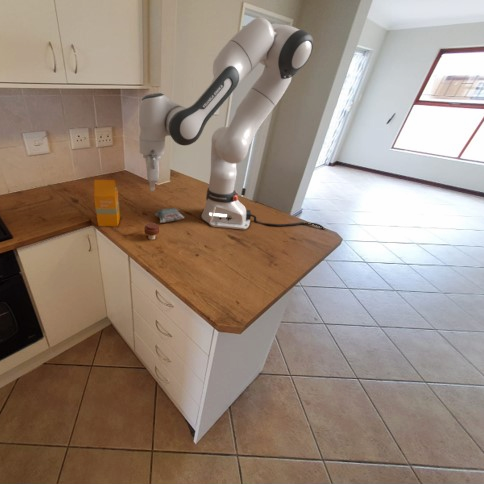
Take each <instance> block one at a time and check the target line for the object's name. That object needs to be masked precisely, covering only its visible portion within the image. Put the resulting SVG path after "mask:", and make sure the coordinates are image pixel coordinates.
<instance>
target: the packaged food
mask: <svg viewBox="0 0 484 484" xmlns="http://www.w3.org/2000/svg"><path fill="white" fill-rule="evenodd" d="M154 216H155V217H158V218H159V223H164V224H165V223H170V222H176V221H177V222H178V221H181V220H185V219H186V216H184V215H183V214H181V212H180V211H179V210H178V209H177V208H175V207H170V208H162V209H158V210H156V212H155V214H154Z"/></svg>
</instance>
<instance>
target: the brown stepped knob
mask: <svg viewBox="0 0 484 484" xmlns="http://www.w3.org/2000/svg"><path fill="white" fill-rule="evenodd" d="M143 230H144V234H146V235H147V239H148V240H151V241H152V240H153V241H154V240H155V239H156V235H159V233H160V226H159V225H158V224H157V223H156V222H148V223H147V224H146V225H144V229H143Z"/></svg>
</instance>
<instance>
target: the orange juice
mask: <svg viewBox="0 0 484 484" xmlns="http://www.w3.org/2000/svg"><path fill="white" fill-rule="evenodd" d="M118 190H119V189H118V185H117V182H116V179H100V178H99V179H97V178H95V179H93V200H94V206H95V207H94V208H95V214H96V221H97V226H98V227H118V226H119V223H120V221H121V213H120V201H119V191H118Z"/></svg>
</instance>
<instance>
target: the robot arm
mask: <svg viewBox="0 0 484 484" xmlns="http://www.w3.org/2000/svg"><path fill="white" fill-rule="evenodd" d="M313 49H314V38H313V36H312V35H311V34H310V33H309V32H307V31H306V30H304V29H299V28H297V27H295V26H292V25H290V24H281V23H274V22H270V21H269V20H268V19H267V18H264V17H256V18H254V19H252V20H251V21H250V22H248V23H247V24H246V25H244V26H243V27H242V28H241V29H240V30H238V32H237V33H235V35H233V37H232V38H231V39H230V40H229V41H227V43H226V44H225V45H224V46H223V47H222V48H221V50H220V51H219V52H218V54H217V56H215V58H214V60H213V64H212V76H213V79H212V80H211V83H210V84H209V86H208V87H206V89H205V90H204V91H203V92H202V94H201V95H200V96H199V97H197V99H196V100H195V102H194V103H193V104H192V105H190V106H188V107H184V106H182V105H180V104H178V103H176V102H174V101H173V100H171V99H170V98H168V97H167V96H166V95H165V94H164V93H161V92H157V93H155V92H154V93H150V94H146V95H144V96H143V97H142V98H141V100H140V103H139V104H140V105H139V112H138V114H139V116H138V121H139V122H138V123H139V124H138V125H139V128H140V129H139V130H140V133H139V137H138V138H139V139H138V140H139V153H140V154H141V155H142V158H144V159H145V166H146V177H147V182H148V183H149V191H150V192H154V191H155V190H156V183H158V182H159V177H160V176H159V175H160V162H159V161H160V160H161V158H162V155H165V152H166V151H165V150H166V137H168V136H169V137H171V139H172V140H173V142H175V143H176V144H178V145H180V146H190V145H192V144H194V143H196V142H197V141H198V140H199V139H200V137H201V135H202V134H203V131H204V129H205V126H206V124H207V123H208V122H209V120H210V119H211V118H212V116H214V115H215V113H216V112H217V111H218V110H219V108H220V107H222V105H223V104H224V102H226V100H228V98H229V97H230V96H231V95H232V93H233V92H234V90H236V88H237V87H238V86H239V85H240V84H241V83H242V82H243V81H244V79H245V78H247V77H248V75H249V74H251V72H252V71H253V70H254V69H255V68H256V67H257V66H258V65H259V64H261V65H262V66H264V68H263V71H262V73H261V75H260V76H259V77H258V78H257V80H256V81H255V82H254V83H253V85H252V86H251V88H250V89H249V90H248V92H247V93H246V95H245V96H244V98H243V99H242V100H241V102H240V103H239V104H238V106H237V107H236V109H235V113H234V116H233V118H232V120H231V121H230V124H229V126H222V127H218V128H217V129H216V130H214V132H213V133H212V135H211V148H210V173H209V174H210V175H209V183H208V187H207V189H206V194H205V195H206V196H205V198H206V199H205V200H206V201H205V205H204V209H203V211H202V213H201V219H202V220H203V221H205V223H208V224H209V226H210V227H212V228H224V229H233V230H247V229H248V228H249V227H250V224H251V217H252V218H253V222H255V223H257V224H260V225H264V226H270V227H288V226H289V227H291V226H296V225H307V226H316V225H317V226H316V227H319V226H320V227H319V228H321V227H322V228H321V230H322V231H326V229H325V227H324V226H323V225H322V224H319V223H316V222H310V223H311V224H308V223H309V222H305V221H301V222H300V221H299V222H292V223H271V222H269V223H268V222H260V221H258V220H257V216H256V215H255V214H252V212H251V209H247V208H246V206H245V205H244V204H243V203H242V202H241V201H239V197H238V195H239V193H238V191H236V190H235V186H236V180H237V175H238V171H237V164H239V163H241V162H242V161H243V160H245V159H246V157H247V156H248V153H249V149H250V145H251V143H252V142H253V140H254V137H255V135H256V134H257V132H258V130H259V128H260V127H261V126H262V124H263V123H264V122H265V120H266V119H267V118H268V116H269V115H270V113H271V112H272V111H273V110H274V108H275V107H276V106H277V104H279V102H280V100H281V99H282V98H283V95H284V94H285V92H286V91H287V89H288V87H289V85H290V84H291V81H292V78H293V77H294V76H295V75H296V74H297V73H298V72H299V71H300V70H302V69H303V67H304V66H305V65H306V64H307V63H308V61H309V59H310V58H311V55H312V53H313ZM304 222H305V223H304ZM312 224H314V225H312ZM323 228H324V229H323Z"/></svg>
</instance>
